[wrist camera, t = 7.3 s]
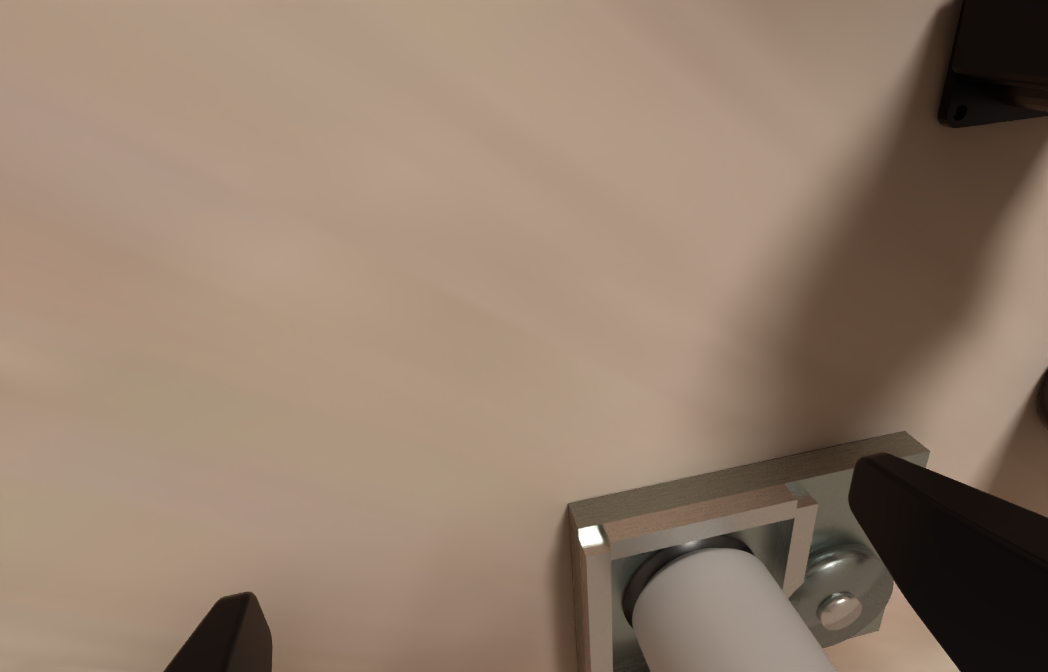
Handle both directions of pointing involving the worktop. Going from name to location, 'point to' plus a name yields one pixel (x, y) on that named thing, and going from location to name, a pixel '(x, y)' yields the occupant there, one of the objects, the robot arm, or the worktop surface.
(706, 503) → the grey flat piece
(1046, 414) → the supplement bottle
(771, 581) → the beverage can
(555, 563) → the worktop surface
